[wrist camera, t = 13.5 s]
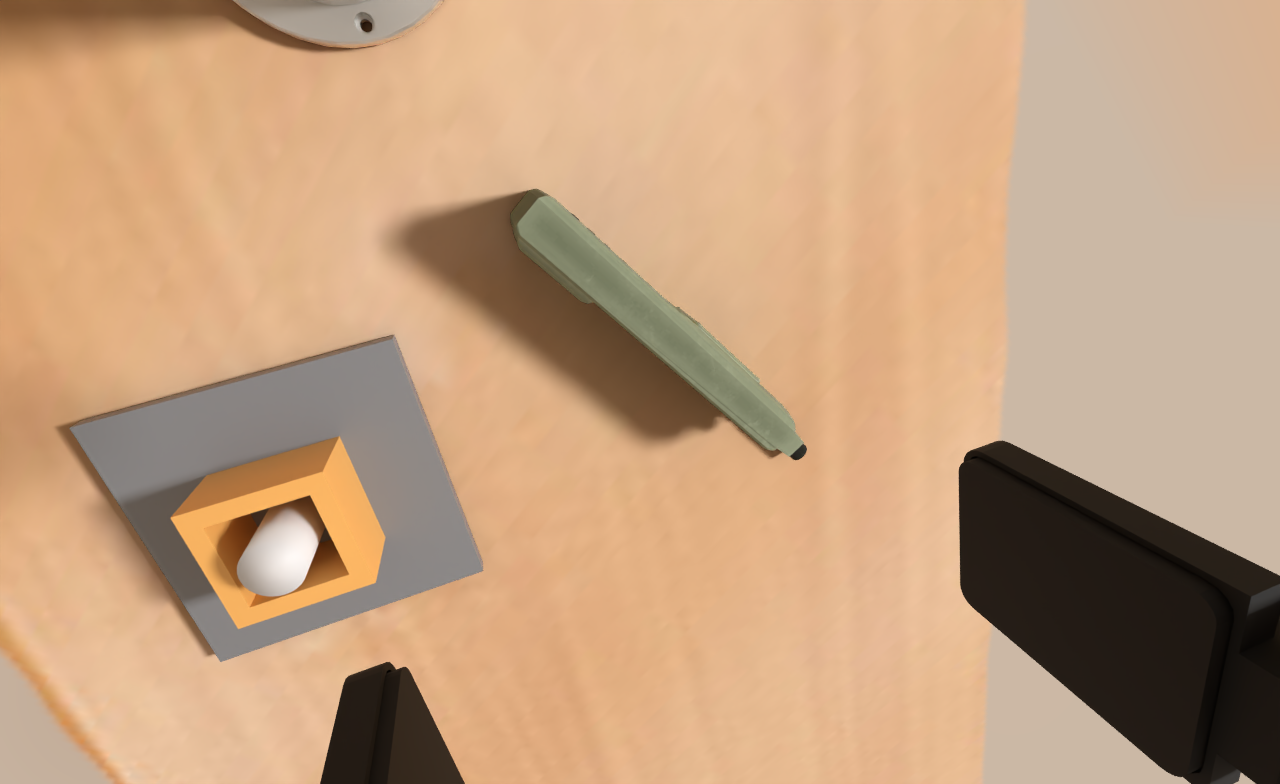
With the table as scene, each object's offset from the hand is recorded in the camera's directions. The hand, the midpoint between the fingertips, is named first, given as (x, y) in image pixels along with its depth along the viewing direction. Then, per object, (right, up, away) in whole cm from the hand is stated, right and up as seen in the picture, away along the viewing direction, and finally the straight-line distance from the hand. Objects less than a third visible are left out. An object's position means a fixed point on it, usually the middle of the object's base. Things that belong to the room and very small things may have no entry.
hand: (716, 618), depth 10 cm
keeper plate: (-21, -3, +26) cm, 33 cm away
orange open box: (-21, -3, +25) cm, 33 cm away
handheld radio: (+1, +7, +29) cm, 30 cm away
